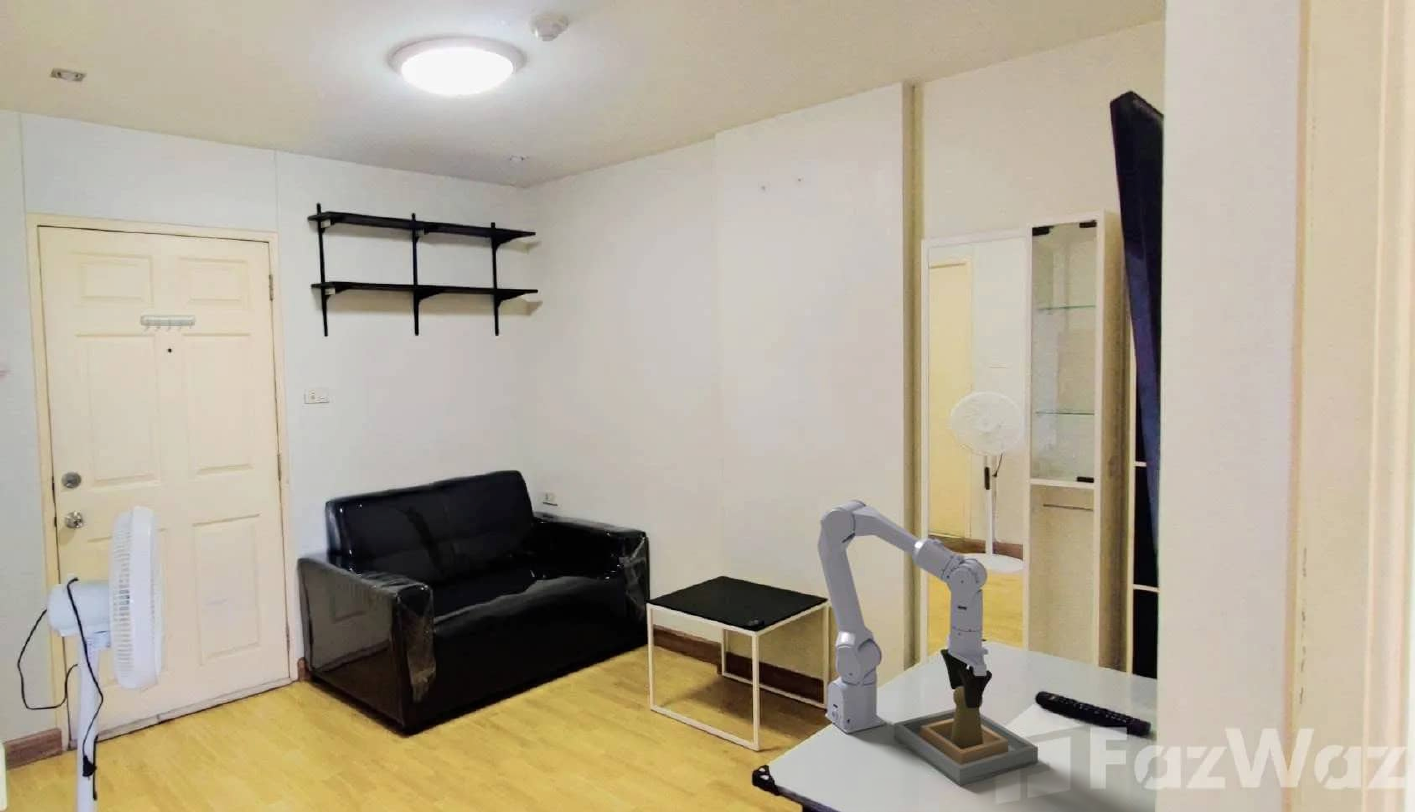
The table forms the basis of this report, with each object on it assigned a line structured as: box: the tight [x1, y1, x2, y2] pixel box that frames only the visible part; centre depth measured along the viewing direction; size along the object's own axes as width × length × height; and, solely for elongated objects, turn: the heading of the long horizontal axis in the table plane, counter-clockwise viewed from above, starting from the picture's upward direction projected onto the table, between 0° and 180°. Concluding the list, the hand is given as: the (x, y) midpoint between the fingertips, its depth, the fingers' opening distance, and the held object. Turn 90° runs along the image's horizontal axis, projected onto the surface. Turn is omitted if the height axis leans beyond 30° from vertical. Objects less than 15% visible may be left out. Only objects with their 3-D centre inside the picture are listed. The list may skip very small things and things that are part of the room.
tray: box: [893, 708, 1039, 787], centre depth 145 cm, size 18×18×3 cm
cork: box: [950, 686, 984, 750], centre depth 145 cm, size 6×6×11 cm
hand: (964, 697), depth 145 cm, fingers open, 7 cm apart
